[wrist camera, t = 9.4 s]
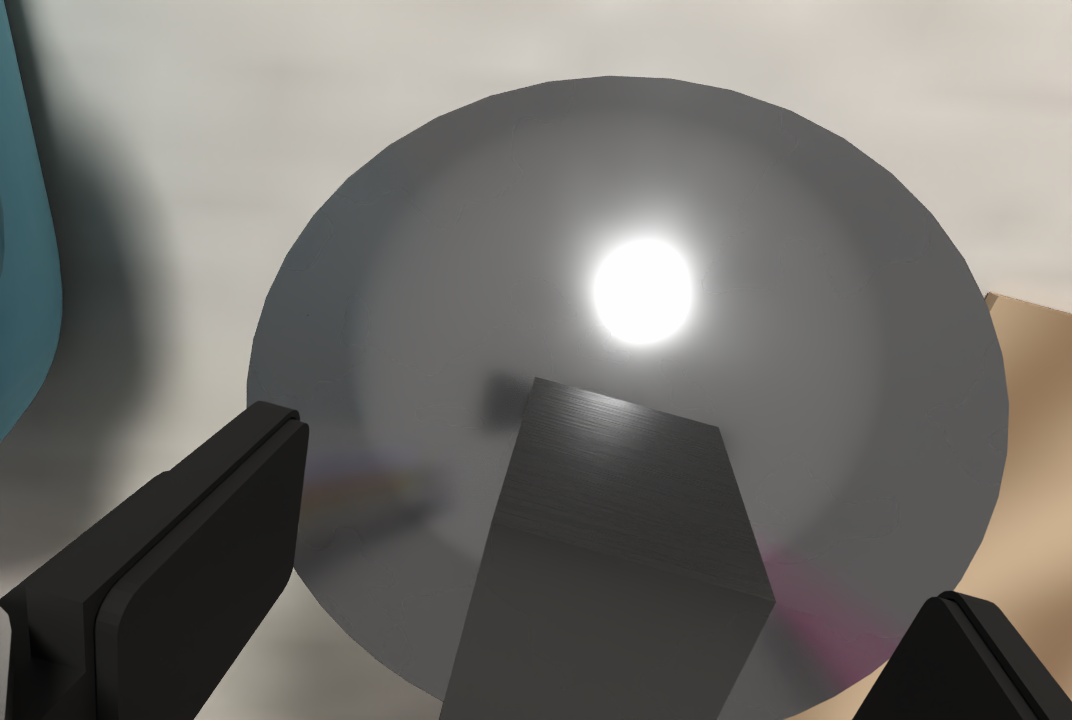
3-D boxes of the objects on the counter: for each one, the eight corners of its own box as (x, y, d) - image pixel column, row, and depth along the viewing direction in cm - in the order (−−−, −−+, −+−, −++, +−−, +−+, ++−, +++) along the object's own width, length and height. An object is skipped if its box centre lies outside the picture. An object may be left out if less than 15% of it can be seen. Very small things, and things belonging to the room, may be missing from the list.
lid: (1153, 205, 10) (1647, 291, 5) (801, 780, 15) (887, 1086, 11) (303, -20, 10) (28, -138, 5) (244, 622, 16) (78, 850, 11)
